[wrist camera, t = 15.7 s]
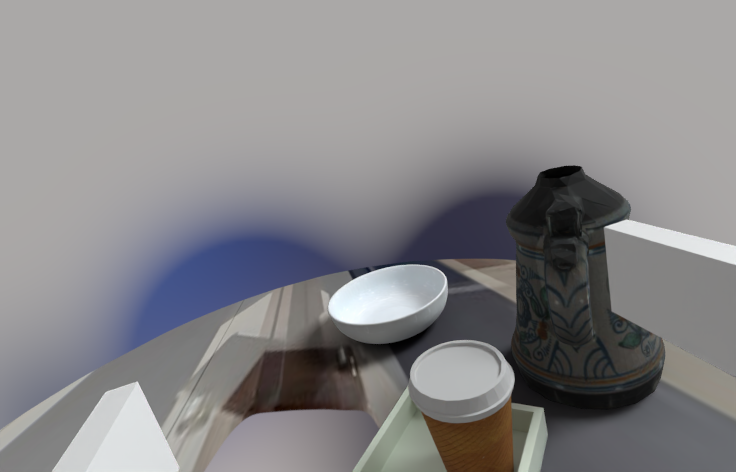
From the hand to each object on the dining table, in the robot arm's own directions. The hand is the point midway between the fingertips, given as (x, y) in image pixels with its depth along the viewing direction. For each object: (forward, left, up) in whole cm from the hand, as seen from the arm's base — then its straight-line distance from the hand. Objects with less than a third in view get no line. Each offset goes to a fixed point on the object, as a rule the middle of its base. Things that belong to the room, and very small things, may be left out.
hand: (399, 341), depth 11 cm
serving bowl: (-32, +45, -30) cm, 63 cm away
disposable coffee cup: (-9, +21, -30) cm, 37 cm away
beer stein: (-1, +38, -30) cm, 49 cm away
